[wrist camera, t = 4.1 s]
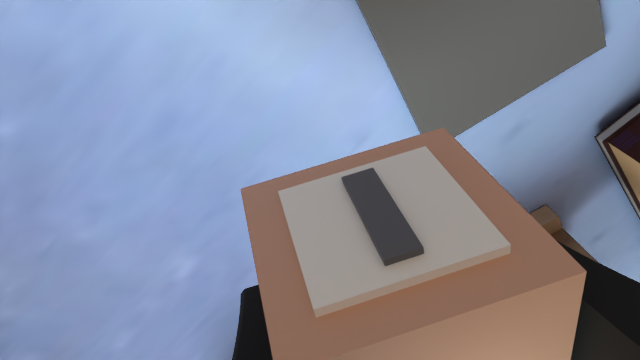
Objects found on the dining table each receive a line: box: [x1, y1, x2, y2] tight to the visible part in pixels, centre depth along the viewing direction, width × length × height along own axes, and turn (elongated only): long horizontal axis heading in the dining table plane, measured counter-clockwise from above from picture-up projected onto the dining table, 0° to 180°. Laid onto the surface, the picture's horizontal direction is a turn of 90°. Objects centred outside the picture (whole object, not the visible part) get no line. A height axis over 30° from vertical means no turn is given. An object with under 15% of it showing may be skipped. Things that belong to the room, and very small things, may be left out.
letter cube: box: [241, 127, 587, 360], centre depth 11 cm, size 5×5×5 cm
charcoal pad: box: [356, 0, 606, 137], centre depth 18 cm, size 8×8×1 cm
